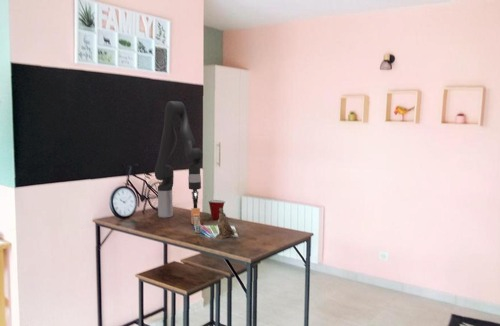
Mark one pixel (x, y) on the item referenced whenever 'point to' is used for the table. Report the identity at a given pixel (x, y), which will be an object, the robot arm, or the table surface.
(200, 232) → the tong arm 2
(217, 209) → the plastic cup
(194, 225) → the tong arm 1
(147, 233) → the table surface
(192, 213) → the collar
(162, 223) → the table surface
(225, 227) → the brown carved statuette
